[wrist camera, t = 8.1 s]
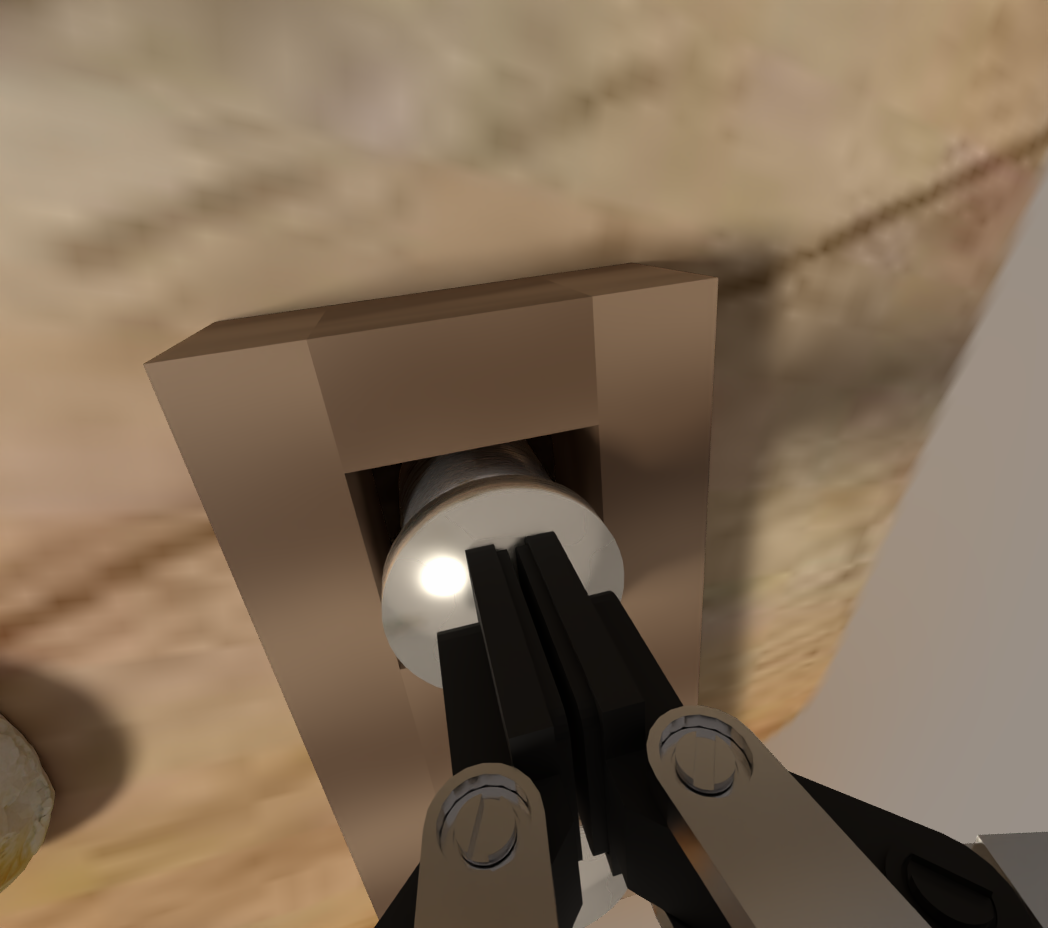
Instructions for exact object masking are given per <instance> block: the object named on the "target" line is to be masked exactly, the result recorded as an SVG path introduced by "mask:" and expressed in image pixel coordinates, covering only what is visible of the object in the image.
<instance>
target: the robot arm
mask: <svg viewBox="0 0 1048 928" xmlns="http://www.w3.org/2000/svg"><path fill="white" fill-rule="evenodd" d="M524 542H525V545H523V546H518V547H515V553H516V561H517V568H518V575H519V581H518V578H517V575H516V573H515V570H514V567H513V564H512V562H511V559H510V556H509V553H508V551H507V549H505V550H500V551H496V548H495V546H494V544H491V545H486V546H482V547H477V548H473V549H468V550H465V554H466V560H467V565H468V570H469V576H470V581H471V586H472V592H473V597H474V602H475V608H476V613H477V618H478V622H477V623H473V624H469V625H465V626H461V627H457V628H453V629H448V630H444V631H440V632H437V642H438V651H439V660H440V669H441V677H442V686H443V695H444V704H445V712H446V721H447V730H448V739H449V747H450V756H451V765H452V774H453V776H452V777H451V778H450V779H449V780H448V781H447V782H446V783H445V784H444V785H443V786H442V787H441V788H440V789H439V790H438V791H437V793H436V795H435V797H434V798H433V800H432V802H431V804H430V806H429V807H428V809H427V814H426V818H425V822H424V826H423V834H422V845H421V856H420V862H419V864H418V865H417V867H416V868H415V870H414V871H413V872H412V874H411V875H410V877H409V878H408V880H407V881H406V883H405V884H404V885H403V887H402V888H401V890H400V891H399V893H398V894H397V896H396V897H395V898H394V900H393V901H392V903H391V904H390V906H389V907H388V909H387V910H386V911H385V913H384V914H383V916H382V917H381V919H380V920H379V921H378V923H377V924H376V926H375V927H374V928H573V925H574V923H575V921H576V918H577V916H578V914H579V911H580V909H581V907H582V905H583V900H582V891H581V882H580V873H579V863H578V861H581V860H583V855H582V846H581V836H580V826H579V817H580V820H581V823H582V826H583V829H584V832H585V835H586V838H587V842H588V845H589V848H590V850H591V853H592V855H593V856H597V855H600V854H603V853H605V855H606V858H607V861H608V864H609V867H610V870H611V873H612V875H613V877H614V876H617V875H620V874H622V875H623V878H624V880H625V883H626V886H627V889H629V890H631V891H632V892H634V893H636V894H637V895H639V896H641V897H643V898H644V899H646V900H648V901H649V902H651V905H652V908H653V910H654V913H655V916H656V918H657V920H658V922H659V924H660V926H661V928H1048V832H1034V833H1012V834H991V835H990V834H989V835H978V836H977V838H976V840H975V843H973V844H972V843H970V844H962V843H960V842H958V841H956V840H954V839H952V838H950V837H948V836H946V835H944V834H942V833H940V832H937V831H935V830H932V829H930V828H928V827H925V826H923V825H920V824H918V823H915V822H913V821H910V820H908V819H905V818H903V817H900V816H898V815H895V814H893V813H891V812H888V811H885V810H883V809H881V808H878V807H876V806H873V805H871V804H868V803H866V802H863V801H861V800H858V799H856V798H853V797H851V796H848V795H846V794H843V793H841V792H839V791H836V790H834V789H831V788H829V787H826V786H823V785H821V784H819V783H816V782H814V781H811V780H809V779H806V778H804V777H802V776H799V775H796V774H794V773H791V772H789V771H788V770H787V769H786V768H785V767H784V766H783V765H782V764H781V763H780V762H779V761H778V760H777V758H775V757H774V755H773V754H772V753H771V752H770V751H769V750H768V749H767V748H766V746H765V745H764V744H763V743H762V742H761V741H760V740H759V739H758V738H757V737H756V736H755V734H754V733H753V732H752V731H751V730H750V729H748V728H747V727H746V726H745V725H744V724H743V723H741V722H740V721H739V720H738V719H737V718H735V717H733V716H731V715H729V714H727V713H725V712H723V711H721V710H718V709H715V708H711V707H707V706H693V705H686V706H683V704H682V702H681V701H680V699H679V697H678V696H677V694H676V692H675V691H674V689H673V687H672V686H671V684H670V683H669V681H668V679H667V678H666V676H665V674H664V673H663V671H662V669H661V668H660V666H659V664H658V663H657V661H656V660H655V658H654V656H653V655H652V653H651V651H650V650H649V648H648V646H647V645H646V643H645V641H644V640H643V638H642V637H641V635H640V633H639V632H638V630H637V628H636V627H635V625H634V623H633V622H632V620H631V618H630V617H629V615H628V614H627V612H626V610H625V609H624V607H623V605H622V604H621V602H620V600H619V599H618V597H617V596H616V595H615V593H614V592H612V591H611V590H610V591H605V592H601V593H597V594H593V595H588V593H587V591H586V590H585V588H584V586H583V584H582V582H581V580H580V578H579V576H578V575H577V573H576V571H575V569H574V567H573V565H572V563H571V562H570V560H569V558H568V556H567V554H566V552H565V550H564V548H563V547H562V545H561V543H560V541H559V539H558V537H557V535H556V534H555V532H554V531H550V532H545V533H541V534H536V535H532V536H527V537H525V538H524ZM519 582H520V584H519ZM578 813H579V817H578Z"/></svg>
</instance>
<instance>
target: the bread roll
mask: <svg viewBox="0 0 1048 928" xmlns="http://www.w3.org/2000/svg"><path fill="white" fill-rule="evenodd" d="M54 799H55V791H54V789H53V787H52V785H51V782H50V780H49V778H48V776H47V774H46V773H45V771H44V770H43V768H42V766H41V763H40V760H39V757H38V755H37V753H36V751H35V750H34V748H33V746H32V745H30V744H29V743H28V742H27V740H26V739H25V737H24V736H23V735H22V734H21V733H20V732H19V731H18V730H17V729H16V728H15V727H14V726H13V725H11V724H10V723H9V722H8V721H7V720H6V719H5V718H4V717H3V716H2V715H1V714H0V893H1V892H2V891H3V890H4V889H6V888H7V887H8V886H9V885H10V884H11V883H12V882H13V881H14V880H15V879H16V878H17V877H18V876H19V875H20V874H21V873H22V872H23V871H24V870H25V868H26V866H27V865H28V863H29V861H30V860H31V858H32V856H33V855H35V854H36V853H37V851H38V850H39V848H40V847H41V845H42V844H43V842H44V840H45V836H46V833H47V830H48V827H49V823H50V819H51V811H52V809H53V806H54Z"/></svg>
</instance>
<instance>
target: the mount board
mask: <svg viewBox="0 0 1048 928" xmlns="http://www.w3.org/2000/svg"><path fill="white" fill-rule="evenodd" d="M717 295H718V277H712V276H707V275H701V274H695V273H689V272H683V271H677V270H671V269H665V268H660V267H654V266H648V265H642V264H636V263H627V264H620V265H613V266H606V267H599V268H592V269H585V270H578V271H571V272H564V273H557V274H550V275H543V276H536V277H529V278H521V279H514V280H507V281H500V282H493V283H486V284H479V285H472V286H465V287H458V288H451V289H444V290H437V291H430V292H423V293H416V294H409V295H402V296H395V297H388V298H381V299H373V300H366V301H359V302H352V303H345V304H338V305H331V306H324V307H317V308H310V309H303V310H296V311H289V312H282V313H275V314H268V315H261V316H254V317H247V318H240V319H233V320H225V321H218V322H214V323H212V324H211V325H209V326H207V327H205V328H204V329H202V330H200V331H199V332H197V333H195V334H194V335H192V336H190V337H188V338H187V339H185V340H183V341H182V342H180V343H178V344H177V345H175V346H173V347H171V348H170V349H168V350H166V351H165V352H163V353H161V354H160V355H158V356H156V357H154V358H153V359H151V360H149V361H148V362H146V363H144V364H143V365H144V368H145V370H146V373H147V375H148V377H149V380H150V382H151V384H152V387H153V389H154V391H155V394H156V396H157V398H158V401H159V403H160V405H161V408H162V410H163V413H164V415H165V417H166V420H167V422H168V424H169V427H170V429H171V431H172V434H173V436H174V438H175V441H176V443H177V446H178V448H179V450H180V453H181V455H182V457H183V460H184V462H185V464H186V467H187V469H188V471H189V474H190V476H191V478H192V481H193V483H194V486H195V488H196V490H197V493H198V495H199V497H200V500H201V502H202V504H203V507H204V509H205V511H206V514H207V516H208V519H209V521H210V523H211V526H212V528H213V530H214V533H215V535H216V537H217V540H218V542H219V544H220V547H221V549H222V551H223V554H224V556H225V559H226V561H227V563H228V566H229V568H230V570H231V573H232V575H233V577H234V580H235V582H236V584H237V587H238V589H239V592H240V594H241V596H242V599H243V601H244V603H245V606H246V608H247V610H248V613H249V615H250V617H251V620H252V622H253V624H254V627H255V629H256V632H257V634H258V636H259V639H260V641H261V643H262V646H263V648H264V650H265V653H266V655H267V657H268V660H269V662H270V665H271V667H272V669H273V672H274V674H275V676H276V679H277V681H278V683H279V686H280V688H281V690H282V693H283V695H284V697H285V700H286V702H287V705H288V707H289V709H290V712H291V714H292V716H293V719H294V721H295V723H296V726H297V728H298V730H299V733H300V735H301V738H302V740H303V742H304V745H305V747H306V749H307V752H308V754H309V756H310V759H311V761H312V763H313V766H314V768H315V770H316V773H317V775H318V778H319V780H320V782H321V785H322V787H323V789H324V792H325V794H326V796H327V799H328V801H329V803H330V806H331V808H332V811H333V813H334V815H335V818H336V820H337V822H338V825H339V827H340V829H341V832H342V834H343V836H344V839H345V841H346V844H347V846H348V848H349V851H350V853H351V855H352V858H353V860H354V862H355V865H356V867H357V869H358V872H359V874H360V876H361V879H362V881H363V884H364V886H365V888H366V891H367V893H368V895H369V898H370V900H371V902H372V905H373V907H374V909H375V912H376V914H377V917H378V919H379V920H380V919H381V917H382V916H383V914H384V913H385V911H386V910H387V909H388V907H389V906H390V904H391V903H392V901H393V900H394V898H395V897H396V896H397V894H398V893H399V891H400V890H401V888H402V887H403V885H404V884H405V883H406V881H407V880H408V878H409V877H410V875H411V874H412V872H413V871H414V870H415V868H416V867H417V865H418V864H419V862H420V856H421V845H422V834H423V826H424V822H425V818H426V814H427V809H428V807H429V806H430V804H431V802H432V800H433V798H434V797H435V795H436V793H437V791H438V790H439V789H440V788H441V787H442V786H443V785H444V784H445V783H446V782H447V781H448V780H449V779H450V778H451V777H452V776H453V774H452V765H451V756H450V747H449V739H448V730H447V721H446V712H445V704H444V695H443V689H442V688H439V687H436V686H434V685H432V684H430V683H428V682H426V681H424V680H422V679H421V678H419V677H418V676H416V675H415V674H413V673H412V672H411V671H410V670H409V669H408V668H406V667H405V666H404V665H403V664H402V662H401V661H400V660H399V659H398V658H397V656H396V655H395V653H394V652H393V650H392V648H391V647H390V645H389V643H388V640H387V637H386V635H385V632H384V627H383V622H382V577H383V570H384V565H385V562H386V559H387V555H388V553H389V551H390V549H391V543H390V539H389V535H388V532H387V528H386V524H385V520H384V516H383V512H382V508H381V504H380V501H379V497H378V493H377V489H376V485H375V481H374V477H373V473H372V470H371V468H376V467H381V466H387V465H392V464H397V463H402V462H407V461H413V460H418V459H423V458H428V457H433V456H439V455H444V454H449V453H454V452H460V451H465V450H470V449H475V448H480V447H486V446H491V445H496V444H501V443H506V442H512V441H517V440H522V439H527V438H533V437H538V436H543V435H548V434H552V443H553V454H554V465H555V476H556V483H558V484H561V485H563V486H565V487H566V488H568V489H570V490H572V491H574V492H575V493H576V494H578V495H579V496H580V497H582V498H583V499H584V500H585V501H586V502H587V503H588V504H589V505H590V506H591V507H592V508H593V509H594V510H595V512H596V513H597V514H598V516H599V517H600V519H601V520H602V521H603V523H604V524H605V526H606V527H607V528H608V530H609V531H610V533H611V534H612V536H613V537H614V539H615V541H616V543H617V545H618V547H619V550H620V553H621V557H622V560H623V567H624V588H623V594H622V599H621V604H622V605H623V607H624V609H625V610H626V612H627V614H628V615H629V617H630V618H631V620H632V622H633V623H634V625H635V627H636V628H637V630H638V632H639V633H640V635H641V637H642V638H643V640H644V641H645V643H646V645H647V646H648V648H649V650H650V651H651V653H652V655H653V656H654V658H655V660H656V661H657V663H658V664H659V666H660V668H661V669H662V671H663V673H664V674H665V676H666V678H667V679H668V681H669V683H670V684H671V686H672V687H673V689H674V691H675V692H676V694H677V696H678V697H679V699H680V701H681V702H682V704H683V706H686V705H693V706H698V690H699V669H700V649H701V628H702V607H703V586H704V565H705V545H706V524H707V503H708V482H709V461H710V441H711V420H712V399H713V378H714V358H715V337H716V316H717ZM635 894H636V893H634V892H632V891H631V890H629V889H627V890H626V892H625V894H624V895H623V896H622V898H621V899H624V898H626V897H629V896H632V895H635ZM621 899H620V900H621Z"/></svg>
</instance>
